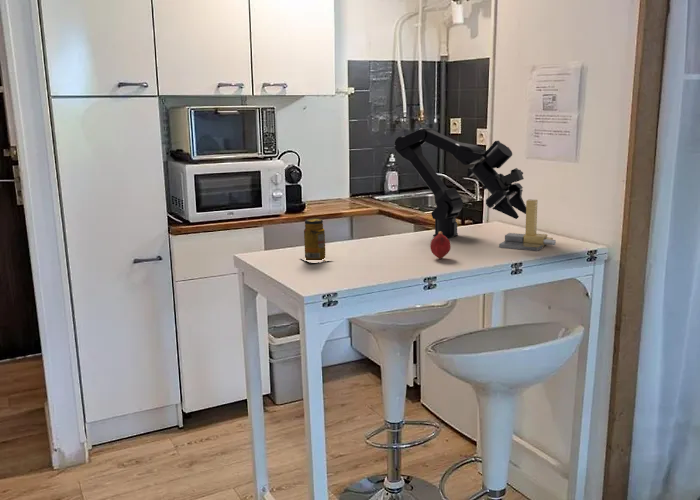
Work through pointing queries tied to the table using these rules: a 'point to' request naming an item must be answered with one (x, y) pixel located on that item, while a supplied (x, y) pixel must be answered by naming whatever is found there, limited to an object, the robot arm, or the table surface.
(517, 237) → the fixed leaf
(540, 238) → the brass block assembly
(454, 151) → the robot arm
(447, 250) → the onion
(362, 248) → the table surface
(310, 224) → the condiment
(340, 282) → the table surface
